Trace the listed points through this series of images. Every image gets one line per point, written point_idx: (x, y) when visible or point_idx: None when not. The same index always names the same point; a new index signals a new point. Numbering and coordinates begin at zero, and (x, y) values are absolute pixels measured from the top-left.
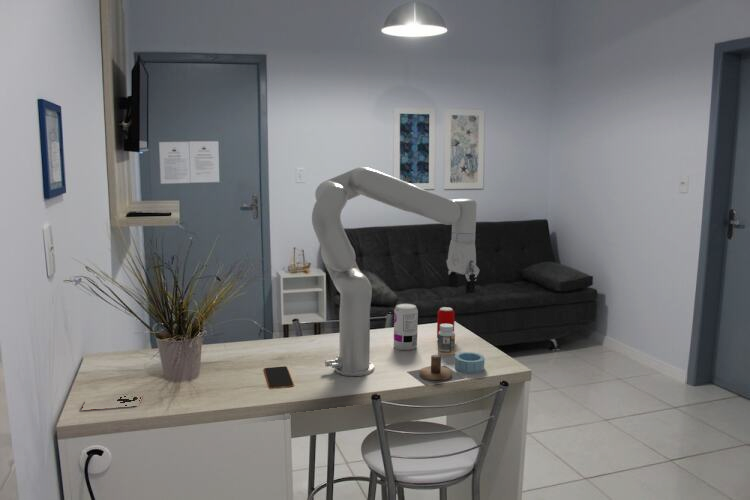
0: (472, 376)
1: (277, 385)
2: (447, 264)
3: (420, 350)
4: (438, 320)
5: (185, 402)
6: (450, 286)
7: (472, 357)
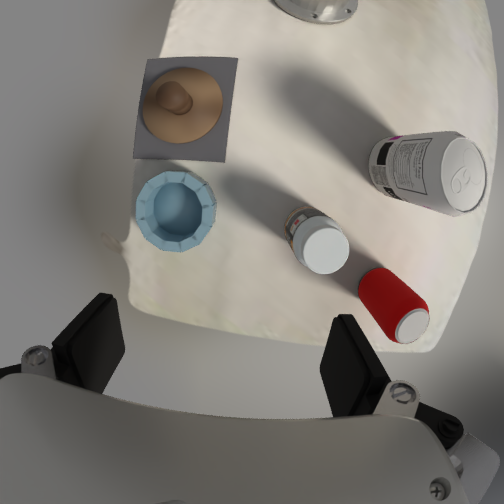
0: (140, 184)
1: None
2: (471, 442)
3: (356, 183)
4: (406, 288)
5: None
6: (334, 319)
7: (192, 234)
